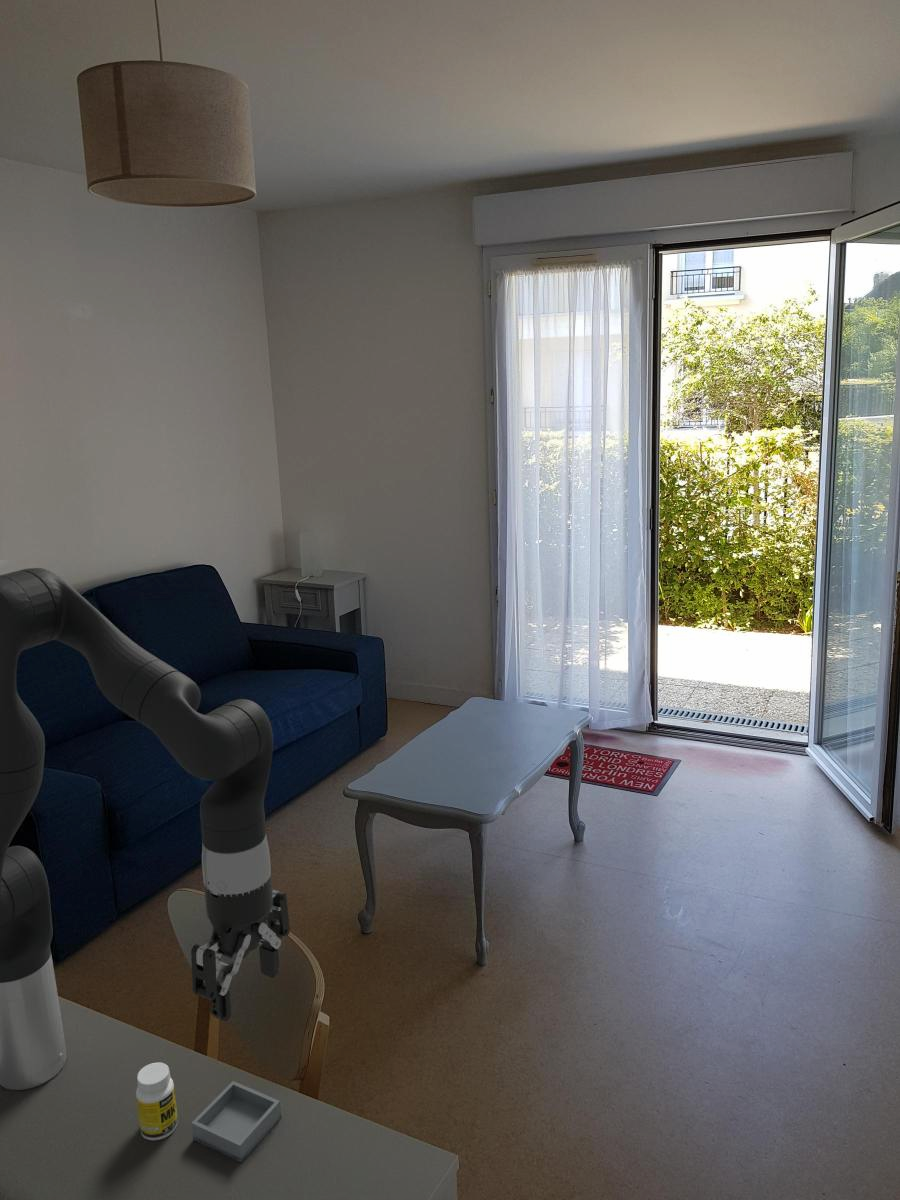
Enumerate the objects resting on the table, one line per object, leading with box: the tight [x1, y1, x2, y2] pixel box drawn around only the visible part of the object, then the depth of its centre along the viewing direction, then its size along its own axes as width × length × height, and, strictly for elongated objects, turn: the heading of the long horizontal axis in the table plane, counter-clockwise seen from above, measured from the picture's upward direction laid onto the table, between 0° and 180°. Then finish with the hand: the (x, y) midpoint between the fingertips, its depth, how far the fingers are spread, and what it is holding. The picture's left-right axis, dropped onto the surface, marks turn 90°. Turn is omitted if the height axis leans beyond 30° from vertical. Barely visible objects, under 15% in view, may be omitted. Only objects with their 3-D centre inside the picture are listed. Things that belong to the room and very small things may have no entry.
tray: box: [190, 1080, 282, 1163], centre depth 121 cm, size 8×8×3 cm
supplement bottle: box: [135, 1062, 179, 1141], centre depth 121 cm, size 5×5×8 cm
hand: (246, 995), depth 110 cm, fingers open, 8 cm apart
